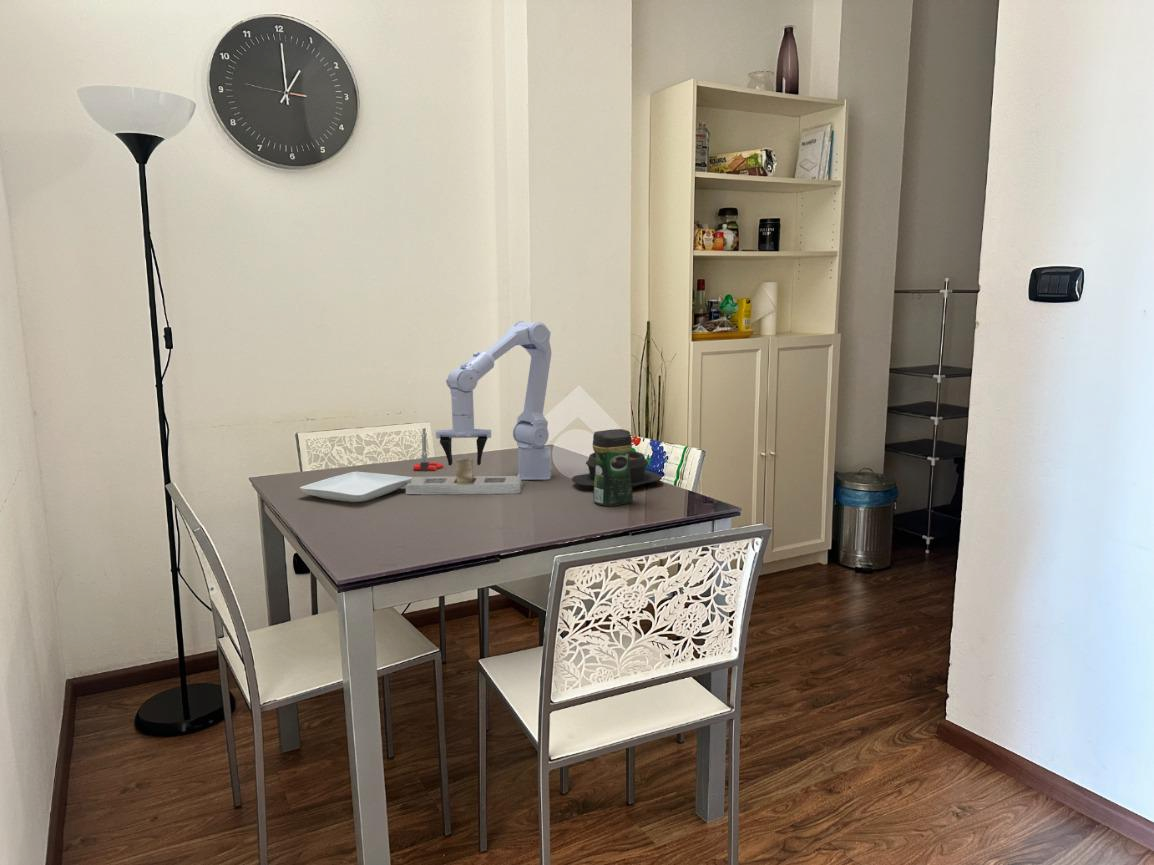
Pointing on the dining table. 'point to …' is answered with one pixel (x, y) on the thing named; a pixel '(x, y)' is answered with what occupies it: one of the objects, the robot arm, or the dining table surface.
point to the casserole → (636, 471)
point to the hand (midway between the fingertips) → (464, 464)
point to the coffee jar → (612, 467)
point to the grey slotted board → (465, 485)
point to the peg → (464, 471)
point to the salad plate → (356, 486)
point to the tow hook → (424, 464)
